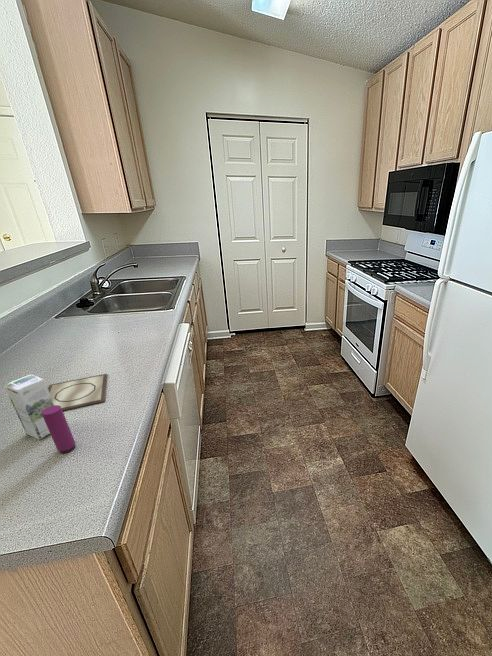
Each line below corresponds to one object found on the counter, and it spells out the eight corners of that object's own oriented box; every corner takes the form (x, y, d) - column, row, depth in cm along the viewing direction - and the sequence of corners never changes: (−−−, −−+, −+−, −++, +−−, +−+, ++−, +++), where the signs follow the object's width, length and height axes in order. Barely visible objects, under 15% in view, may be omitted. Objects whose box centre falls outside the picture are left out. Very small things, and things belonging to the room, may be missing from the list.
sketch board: (37, 417, 89) (36, 414, 88) (49, 386, 103) (49, 384, 103) (105, 402, 95) (104, 400, 94) (107, 374, 109) (107, 372, 109)
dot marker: (57, 456, 75) (39, 416, 70) (59, 446, 78) (42, 407, 73) (75, 451, 76) (59, 411, 72) (77, 441, 79) (62, 403, 74)
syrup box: (50, 421, 87) (29, 373, 80) (64, 427, 84) (43, 378, 78) (26, 434, 82) (2, 383, 76) (40, 441, 80) (16, 389, 73)
